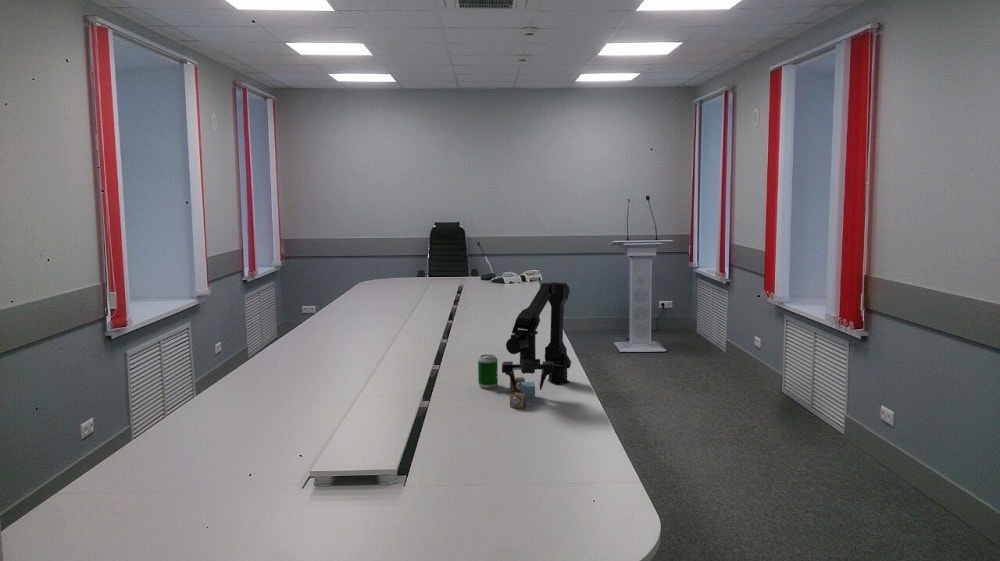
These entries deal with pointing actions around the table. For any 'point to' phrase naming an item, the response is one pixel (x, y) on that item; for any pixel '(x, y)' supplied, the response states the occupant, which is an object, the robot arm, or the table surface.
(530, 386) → the light blue block
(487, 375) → the soda can
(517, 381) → the shaft
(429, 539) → the table surface
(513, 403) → the shaft
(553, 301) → the robot arm
